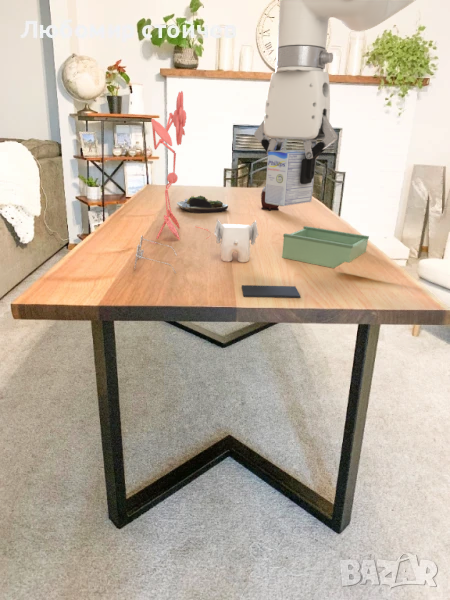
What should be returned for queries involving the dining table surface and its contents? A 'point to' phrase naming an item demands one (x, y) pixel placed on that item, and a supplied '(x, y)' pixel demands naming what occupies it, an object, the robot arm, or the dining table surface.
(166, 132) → the figurine
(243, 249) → the elephant figurine
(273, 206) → the mate gourd
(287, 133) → the robot arm
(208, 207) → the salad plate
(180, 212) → the dining table surface
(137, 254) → the sunglasses
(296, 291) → the mat
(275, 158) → the medicine box
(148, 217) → the dining table surface
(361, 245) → the basket
